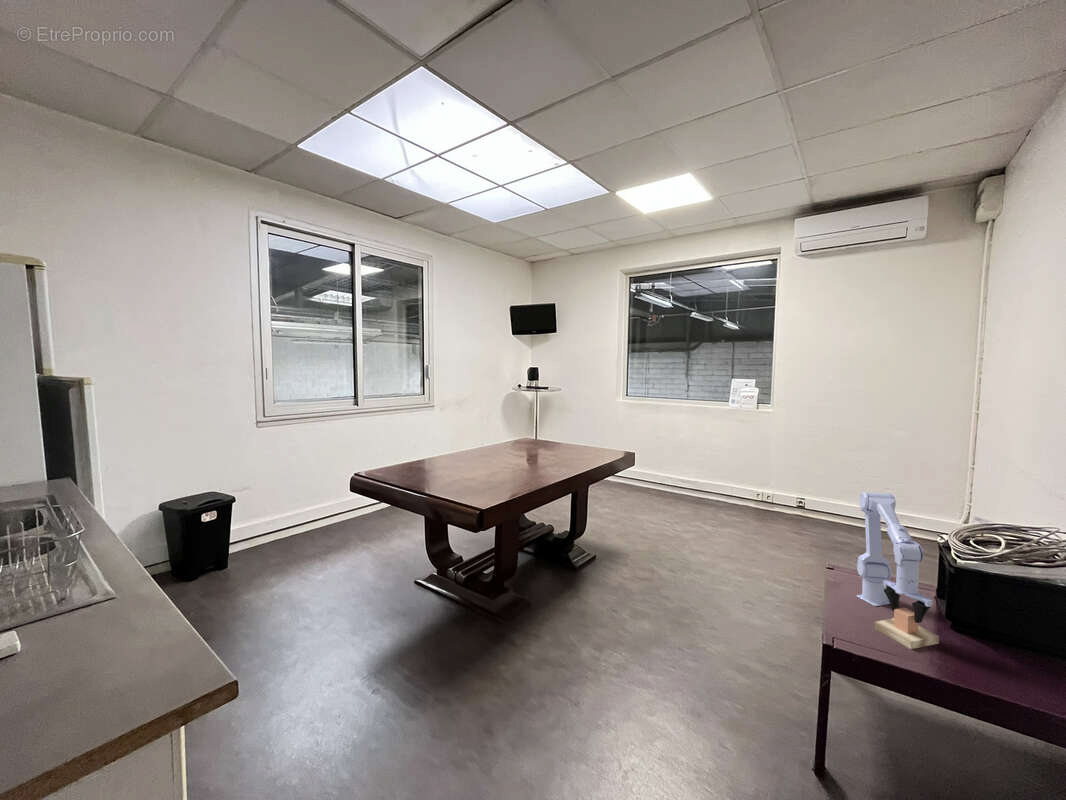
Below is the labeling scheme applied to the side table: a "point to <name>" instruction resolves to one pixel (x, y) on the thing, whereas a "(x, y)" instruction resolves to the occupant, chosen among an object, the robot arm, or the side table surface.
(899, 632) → the birch base
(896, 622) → the terracotta block
